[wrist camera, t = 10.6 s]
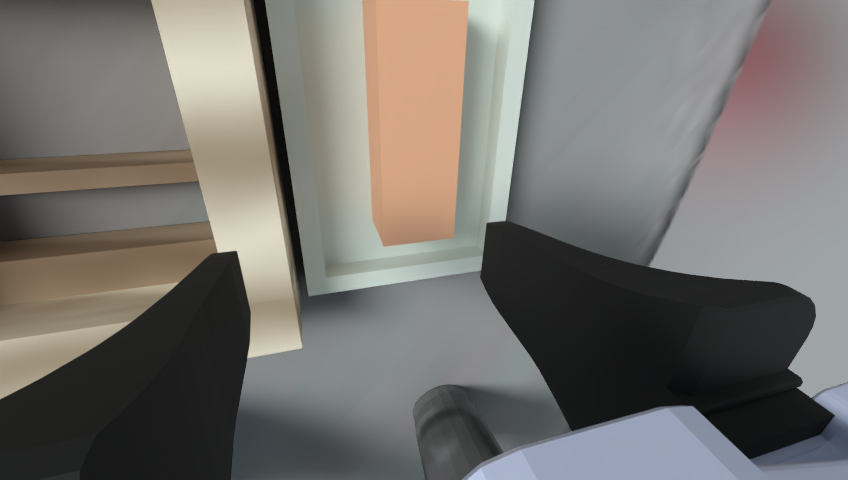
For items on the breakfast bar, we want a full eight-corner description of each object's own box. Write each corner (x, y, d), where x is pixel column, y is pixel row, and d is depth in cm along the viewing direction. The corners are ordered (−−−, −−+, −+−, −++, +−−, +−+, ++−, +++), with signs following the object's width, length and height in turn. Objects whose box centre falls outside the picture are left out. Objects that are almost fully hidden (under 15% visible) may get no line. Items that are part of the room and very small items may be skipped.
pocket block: (300, 293, 23) (302, 348, 19) (-57, 346, 19) (-145, 429, 15) (231, -139, 14) (209, -199, 10) (-480, -223, 10) (-972, -379, 6)
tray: (486, 252, 25) (499, 267, 24) (307, 277, 22) (308, 296, 21) (521, -61, 18) (543, -68, 16) (255, -83, 15) (251, -95, 13)
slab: (434, 213, 22) (453, 237, 20) (372, 219, 21) (383, 246, 19) (442, 3, 17) (468, 0, 15) (362, 0, 16) (375, -3, 14)
